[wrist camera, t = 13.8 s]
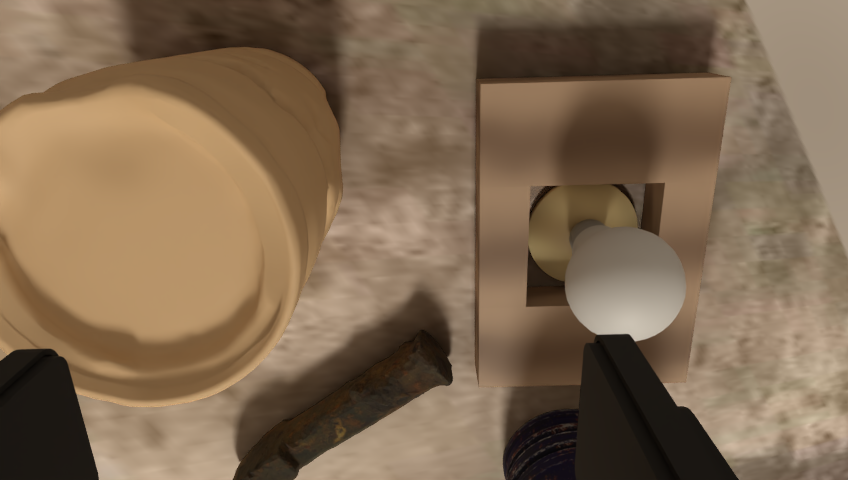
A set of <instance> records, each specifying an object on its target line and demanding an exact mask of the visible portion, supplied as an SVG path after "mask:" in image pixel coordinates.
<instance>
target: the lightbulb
mask: <svg viewBox="0 0 848 480" xmlns="http://www.w3.org/2000/svg"><path fill="white" fill-rule="evenodd" d="M569 242H570V245H571V248H572V257H571V259H570V261H569V263H568V265H567V269H566V274H565V292H566V297H567V301H568V303H569V305H570V308H571V310H572V312H573V313H574V315H575V316H576V317H577V319H578V320H579V321H580V322H581V323H582V324H583V325H584V326H585V327H587V328H588V329H589V330H590V331H592V332H593V333H595V334H597V335H603V334H630V336H631V337H632V338H633V339H634V341H640V340H644V339H647V338H650V337H652V336H655V335H656V334H658V333H660V332H661V331H663V330H664V329H665V328H667V327H668V326H669V325H670V324H671V323H672V322H673V320H674V319H675V318H676V316H677V315H678V313H679V311H680V309H681V307H682V305H683V302H684V299H685V295H686V280H685V272H684V269H683V266H682V264H681V261H680V259H679V257H678V256H677V254H676V253H675V251H674V250H673V249H672V248H671V247H670V246H669V245H668V244H667V243H666V242H665V241H664V240H663V239H662V238H660V237H658V236H657V235H655V234H653V233H651V232H648V231H645V230H642V229H639V228H634V227H614V228H611V227H608V226H605V225H604V224H603V223H601V222H600V221H598V220H594V219H586V220H583V221H581V222H579V223H577V224H576V225H575V226H574V227H573V229H572V230H571V232H570V236H569Z"/></svg>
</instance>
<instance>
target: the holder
mask: <svg viewBox="0 0 848 480" xmlns="http://www.w3.org/2000/svg"><path fill="white" fill-rule="evenodd" d="M730 83H731V77H728V76H723V75H718V74H713V73H708V72H704V73H669V74H633V75H598V76H562V77H527V78H491V79H476V246H475V366H476V373H477V379H478V386H479V387H516V386H557V385H581V376H582V363H583V351H584V346H585V344H586V343H594V339H595V336H596V335H597V334H595V333H593V332H592V331H590V330H589V329H588V328H587V327H585V326H584V325H583V324H582V323H581V322H580V321H579V320H578V319H577V317H576V316H575V315H574V313H573V312H572V310H571V308H570V305H569V303H568V301H567V297H566V292H565V286H541V287H527V266H528V247H529V250H530V253H531V255H532V257H533V259H534V260H535V262H536V263H537V265H538V266H539V267H540V268H541V269H542V270H543V271H544V272H545V273H547V274H548V275H550V276H551V277H553V278H555V279H558V280H560V281H564V282H565V274H566V269H567V265H568V263H569V261H570V259H571V257H572V248H571V245H570V242H569V236H570V232H571V230H572V229H573V227H574V226H575V225H576V224H577V223H579V222H581V221H583V220H586V219H594V220H598V221H600V222H601V223H603V224H604V225H605V226H608V227H611V228H614V227H634V228H638V223H637V216H636V212H635V210H634V208H633V205H632V204H631V202H630V201H629V199H628V198H627V197H626V196H625V195H624V194H623V193H622V192H621V191H620V190H619V189H617V188H616V187H614V186H613V185H611V184H638V183H646V188H645V197H644V206H643V216H642V225H641V229H642V230H645V231H648V232H651V233H653V234H655V235H657V236H658V237H660V238H662V239H663V240H664V241H665V242H666V243H667V244H668V245H669V246H670V247H671V248H672V249H673V250H674V251H675V253H676V254H677V256H678V257H679V259H680V261H681V264H682V266H683V269H684V272H685V280H686V295H685V299H684V302H683V305H682V307H681V309H680V311H679V313H678V315H677V316H676V318H675V319H674V320H673V322H672V323H671V324H670V325H669V326H668V327H667V328H665V329H664V330H663V331H661V332H660V333H658V334H656V335H655V336H652V337H650V338H647V339H644V340H640V341H635V343H636V344H637V346H638V347H639V349H640V350H641V352H642V353H643V355H644V356H645V358H646V359H647V361H648V362H649V364H650V365H651V367H652V369H653V370H654V372H655V373H656V375H657V376H658V378H659V379H660V381H661V382H662V383H678V382H686V378H687V371H688V365H689V358H690V351H691V344H692V338H693V331H694V324H695V318H696V311H697V304H698V298H699V291H700V284H701V277H702V271H703V264H704V257H705V251H706V244H707V237H708V230H709V224H710V217H711V210H712V204H713V197H714V190H715V184H716V177H717V170H718V163H719V157H720V150H721V143H722V137H723V130H724V123H725V116H726V110H727V103H728V96H729V90H730ZM530 186H556V187H554V188H553V189H551V190H550V191H548V192H547V193H546V194H545V195H544V196H543V197H542V198H541V199H540V200H539V201H538V203H537V204H536V205H535V207H534V209H533V211H532V213H531V215H530V218H529V211H530Z"/></svg>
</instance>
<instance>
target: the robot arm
mask: <svg viewBox="0 0 848 480" xmlns="http://www.w3.org/2000/svg"><path fill="white" fill-rule="evenodd" d="M575 475H576V480H738V478H737V477H736V475H735V474H734V472H733V471H732V469H731V468H730V466H729V465H728V463H727V462H726V460H725V459H724V458H723V456H722V455H721V453H720V452H719V450H718V449H717V447H716V446H715V444H714V443H713V441H712V440H711V439H710V437H709V436H708V434H707V433H706V431H705V430H704V428H703V427H702V425H701V424H700V422H699V421H698V419H697V418H696V417H695V415H694V414H693V413H692V412H691V410H690V409H689V408H686V407H684V406H680V407H677V405H676V404H675V402H674V401H673V399H672V398H671V396H670V394H669V393H668V391H667V390H666V388H665V387H664V385H663V384H662V382H661V381H660V379H659V378H658V376H657V375H656V373H655V372H654V370H653V369H652V367H651V365H650V364H649V362H648V361H647V359H646V358H645V356H644V355H643V353H642V352H641V350H640V349H639V347H638V346H637V344H636V343H635V341H634V339H633V338H632V337H631V336H630V334H603V335H596V336H595V339H594V343H586V344H585V346H584V351H583V363H582V376H581V389H580V402H579V415H578V428H577V441H576V454H575ZM0 480H99V477H98V472H97V468H96V464H95V461H94V457H93V453H92V450H91V446H90V443H89V439H88V435H87V432H86V428H85V424H84V421H83V417H82V413H81V410H80V406H79V402H78V399H77V395H76V392H75V388H74V384H73V381H72V377H71V373H70V370H69V366H68V363H67V361H66V359H65V358H64V357H61V356H59V355H58V354H57V352H56V351H55V350H53V349H50V348H49V349H18V350H15V351H13V352H11V353H10V354H9V355H7V356H6V357H5V358H4V359H3V360H1V361H0Z"/></svg>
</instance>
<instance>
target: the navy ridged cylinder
mask: <svg viewBox="0 0 848 480" xmlns="http://www.w3.org/2000/svg"><path fill="white" fill-rule="evenodd" d="M578 415H579V410H578V409H563V410H555V411H551V412H547V413H545V414H542V415H539V416H537V417H535V418H533V419H531V420H530V421H528V422H527V423H525V424H524V425H523V426H521V427H520V428H519V429H518V430H517V431H516V432H515V433H514V435H513V436H512V438H511V439H510V440H509V442H508V444H507V447H506V449H505V453H504V457H503V469H504V476H505V479H506V480H576V475H575V454H576V441H577V428H578Z"/></svg>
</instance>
